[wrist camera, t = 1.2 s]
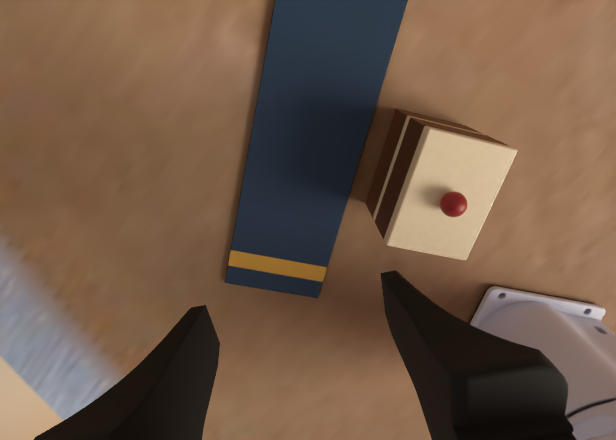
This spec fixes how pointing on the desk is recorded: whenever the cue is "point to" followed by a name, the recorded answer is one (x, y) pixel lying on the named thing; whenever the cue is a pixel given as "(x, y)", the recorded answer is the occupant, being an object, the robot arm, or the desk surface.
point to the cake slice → (436, 184)
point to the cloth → (308, 137)
